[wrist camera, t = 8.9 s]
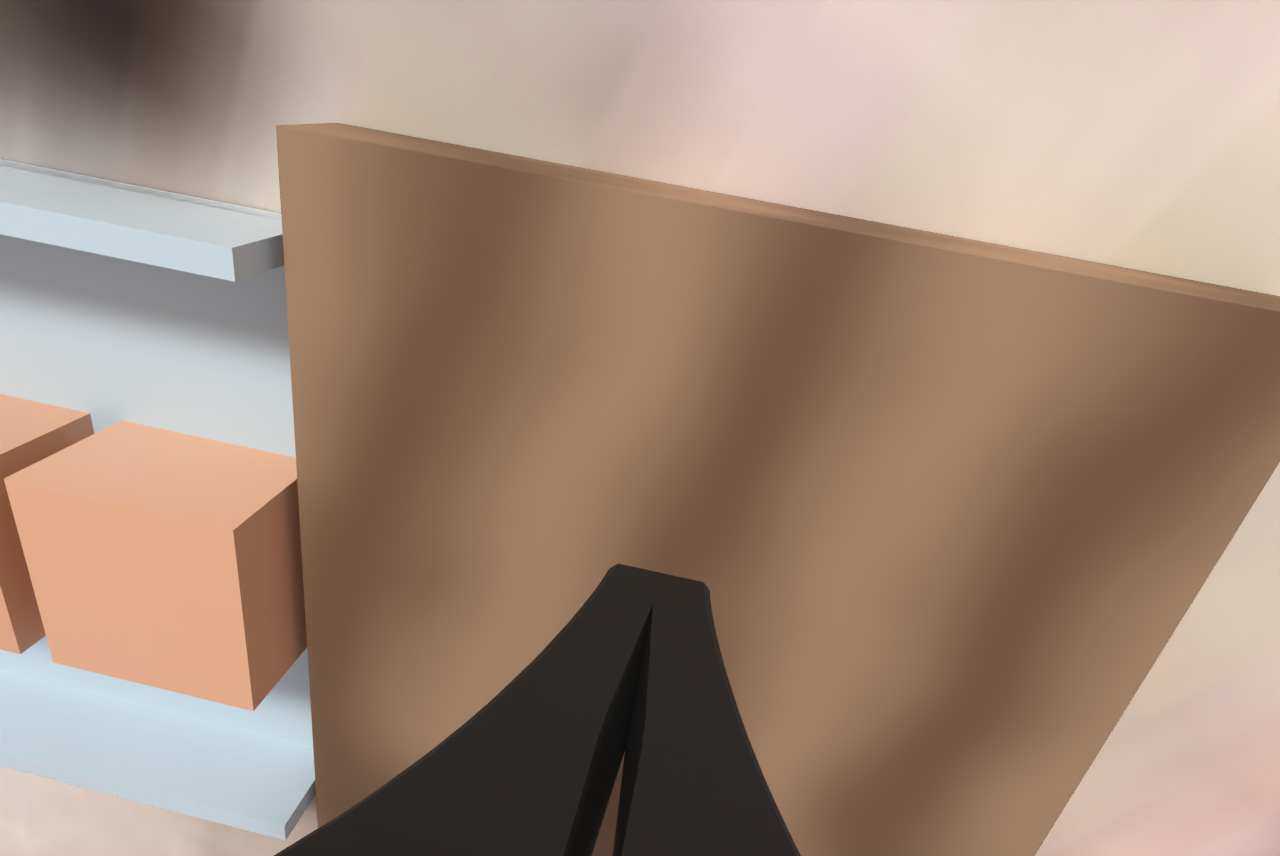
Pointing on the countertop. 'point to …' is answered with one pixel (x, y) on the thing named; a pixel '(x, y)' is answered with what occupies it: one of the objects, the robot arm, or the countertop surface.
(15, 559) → the tile
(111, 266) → the tray
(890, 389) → the board
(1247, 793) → the countertop surface
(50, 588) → the tile
